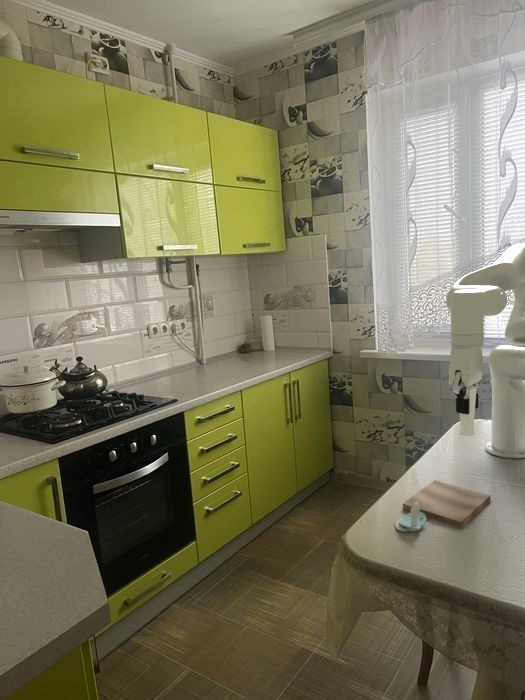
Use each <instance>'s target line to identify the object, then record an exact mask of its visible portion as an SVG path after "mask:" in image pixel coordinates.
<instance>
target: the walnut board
mask: <svg viewBox="0 0 525 700" xmlns="http://www.w3.org/2000/svg"><path fill="white" fill-rule="evenodd" d="M491 497H492V496H491V495H490V494H487V493H483V492H480V491H477V490H472V489H469V488H466V487H461V486H458V485H454V484H450V483H446V482H443V481H440V480H435V479H434V480H433V481H431V483H429V484H428V485H426V486H425V487H424V488H422V489H420V490H419V491H418V492H416V493H415V494H414V495H412V496H411V497H409V498H408V499H407V500H405V501H404V502H403V503H402V510H404V511H406V512H410V511H411V508H412V506H413V504H414V503H415V502H417V503H418V504H419V506H420V510H419V512H422V513H424V514H425V516H426V518H428V519H432V520H434V521H437V522H440V523H442V524H446V525H450V526H451V527H455V528H459V529H462V528H463V527H464V526H465V525H466V524H467V523H469V522H470V521H471V520H472V519H473V518H474V517H475V516H476V515H477V514H479V512H480V511H482V510H483V509H484V508H485V507H486V506H487V505H488V504H489V503H491Z"/></svg>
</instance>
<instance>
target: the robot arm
mask: <svg viewBox="0 0 525 700" xmlns="http://www.w3.org/2000/svg"><path fill="white" fill-rule="evenodd" d="M512 290H513V292H512V293H513V296H514V303H513V306H512V307H513V308H512V309H511V312H510V315H509V317H508V321H507V323H506V327H505V330H504V338H505V340H506V342H507V343H508V344H501V345H497V346H495V347H493V349H491V351H490V352H489V357H488V365H489V371H490V378H491V441H487V443H486V444H485V450H486V452H488V453H489V454H492V455H494V456H496V457H500V458H505V459H525V384H524V382H523V381H525V242H523V243H515V244H512V245H511V246H510V247H509V248H507V249H506V250H505V251H504V252H503V253H502V255H500V256H499V258H498V259H497V260H496V261H494V262H493V264H490V265H487V266H484V267H483V268H480V269H478V270H475V271H473V272H470V273H468V274H465V275H464V276H462V277H460V278H459V279H458V280H457V281H456V282H455V283H454V284H453V285H452V286H451V288H450V289H449V291H448V292H447V296H446V301H445V302H446V303H445V304H446V307H447V309H448V311H449V312H450V355H449V362H448V363H449V364H448V365H449V366H448V384H449V386H452V388H451V391H453V392H454V398H455V412H456V413H457V414H460V413H462V414H469V398H468V391H469V386H471V385H473V386H475V387H477V389H476V401H475V410H477V409H478V408H479V392H480V387H479V385H480V383H481V380H482V379H483V375H484V373H483V372H484V361H483V359H484V358H483V349H482V347H484V337H485V336H484V333H485V332H484V330H485V329H484V327H485V326H484V325H485V324H484V319H485V318H484V317H493V316H496V315H499V314H501V313H503V311H504V310H505V308H506V306H507V302H508V296H507V293H506V292H508V291H512ZM461 384H464V386H461ZM460 388H463V389H465V390H464V392H463V390H461V389H460Z"/></svg>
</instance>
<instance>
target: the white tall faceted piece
mask: <svg viewBox="0 0 525 700" xmlns="http://www.w3.org/2000/svg"><path fill="white" fill-rule="evenodd" d="M460 385H461V386H464V384H462V383H461V384H460ZM460 389H461V390H463V392H464V390H465V389H463V388H460ZM476 389H477V387H475V386H473V385H471V386H469V391H468V398H469V414H462V413H459V421H460V427H459V432H458V433H459V435H460V436H465V437H472V436H474V435H475V434H476V431H475V429H474V427H475V426H474V424H475V412H476V411H475V410H476V409H475V401H476Z"/></svg>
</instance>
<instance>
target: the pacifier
mask: <svg viewBox="0 0 525 700" xmlns="http://www.w3.org/2000/svg"><path fill="white" fill-rule="evenodd" d="M419 510H420V506H419V504H418V503H417V502H415V503H414V504H413V506H412V508H411V511H409V513H407V514H406V515H404V517H401V518H399V519H397V520H396V522H395V526H394V527H395V529H396V530H397V531H399V532H410V531H413V532H416V531H418V530H421V527H423V526H424V525H425V524H426V523H427V517H426V516H425V514H424V513H422V512H419ZM400 525H401V526H400ZM402 526H403V527H402ZM415 530H416V531H415Z"/></svg>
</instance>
